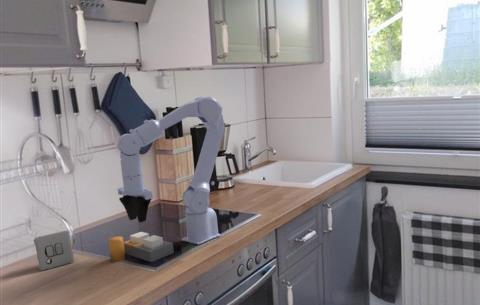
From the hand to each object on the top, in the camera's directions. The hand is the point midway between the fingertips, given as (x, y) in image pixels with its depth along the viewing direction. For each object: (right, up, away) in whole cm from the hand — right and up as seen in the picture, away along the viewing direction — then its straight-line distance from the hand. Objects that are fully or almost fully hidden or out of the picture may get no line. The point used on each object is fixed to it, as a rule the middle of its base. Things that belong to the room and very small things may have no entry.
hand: (137, 220), depth 134 cm
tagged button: (+1, -7, +1) cm, 7 cm away
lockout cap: (-5, -11, -4) cm, 12 cm away
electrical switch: (-23, -12, -4) cm, 26 cm away
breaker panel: (+3, -9, -1) cm, 10 cm away
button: (+5, -8, -3) cm, 10 cm away
